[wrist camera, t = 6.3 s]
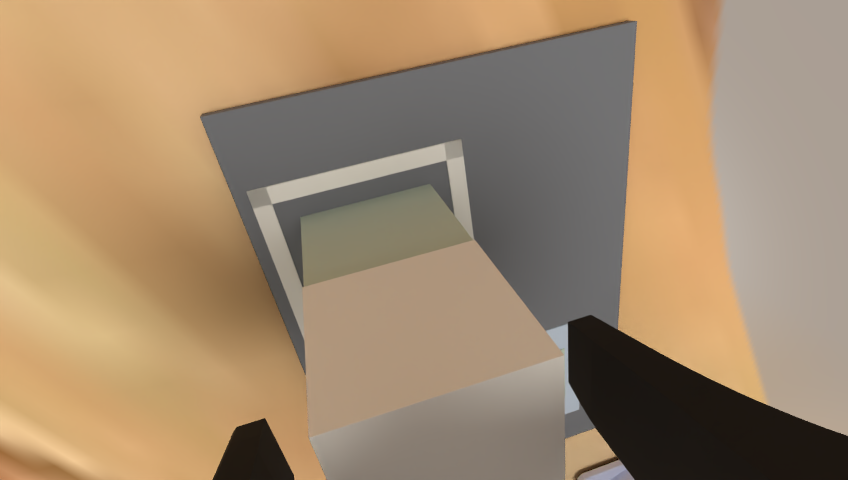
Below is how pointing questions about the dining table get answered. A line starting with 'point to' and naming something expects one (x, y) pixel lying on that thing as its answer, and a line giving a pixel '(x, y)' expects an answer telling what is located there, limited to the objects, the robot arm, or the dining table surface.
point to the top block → (431, 374)
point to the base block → (377, 233)
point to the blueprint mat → (458, 168)
